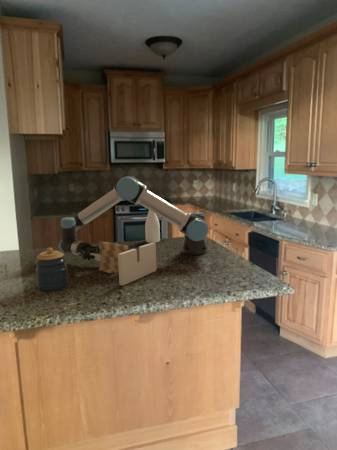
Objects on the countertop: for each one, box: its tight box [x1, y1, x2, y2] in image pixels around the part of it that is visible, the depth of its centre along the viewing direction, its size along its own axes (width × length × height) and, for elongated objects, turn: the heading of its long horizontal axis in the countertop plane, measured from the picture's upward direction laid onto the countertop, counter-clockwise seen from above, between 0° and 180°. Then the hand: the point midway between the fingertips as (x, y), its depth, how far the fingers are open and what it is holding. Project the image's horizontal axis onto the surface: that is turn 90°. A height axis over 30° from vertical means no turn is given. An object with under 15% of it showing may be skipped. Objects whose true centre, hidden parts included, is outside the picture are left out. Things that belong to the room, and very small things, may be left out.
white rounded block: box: [144, 209, 161, 244], centre depth 226 cm, size 10×10×30 cm
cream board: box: [118, 242, 157, 286], centre depth 158 cm, size 24×2×14 cm, turn 144°
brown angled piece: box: [98, 240, 129, 274], centre depth 167 cm, size 18×6×14 cm, turn 54°
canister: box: [34, 247, 69, 293], centre depth 149 cm, size 13×13×18 cm
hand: (110, 254), depth 168 cm, fingers open, 13 cm apart
